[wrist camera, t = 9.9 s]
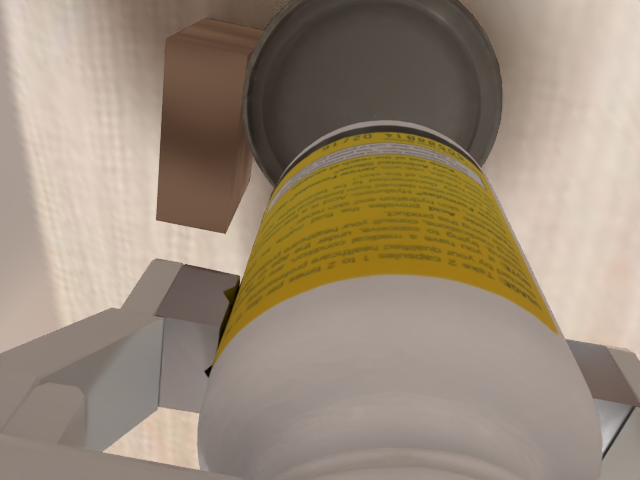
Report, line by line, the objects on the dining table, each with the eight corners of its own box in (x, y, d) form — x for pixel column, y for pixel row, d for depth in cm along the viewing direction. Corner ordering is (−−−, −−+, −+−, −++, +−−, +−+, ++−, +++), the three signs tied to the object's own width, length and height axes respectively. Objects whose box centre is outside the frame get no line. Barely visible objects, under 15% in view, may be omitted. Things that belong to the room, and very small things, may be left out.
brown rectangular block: (249, 180, 39) (225, 233, 32) (192, 169, 39) (156, 220, 32) (270, 31, 35) (247, 55, 28) (205, 18, 34) (166, 39, 27)
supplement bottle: (225, 180, 13) (-21, 625, 5) (439, 70, 12) (645, 430, 3) (333, 343, 15) (298, 856, 7) (527, 267, 14) (791, 802, 5)
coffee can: (445, -58, 32) (500, -55, 19) (456, 120, 37) (505, 215, 24) (267, -25, 33) (212, -2, 21) (299, 143, 38) (270, 243, 25)
